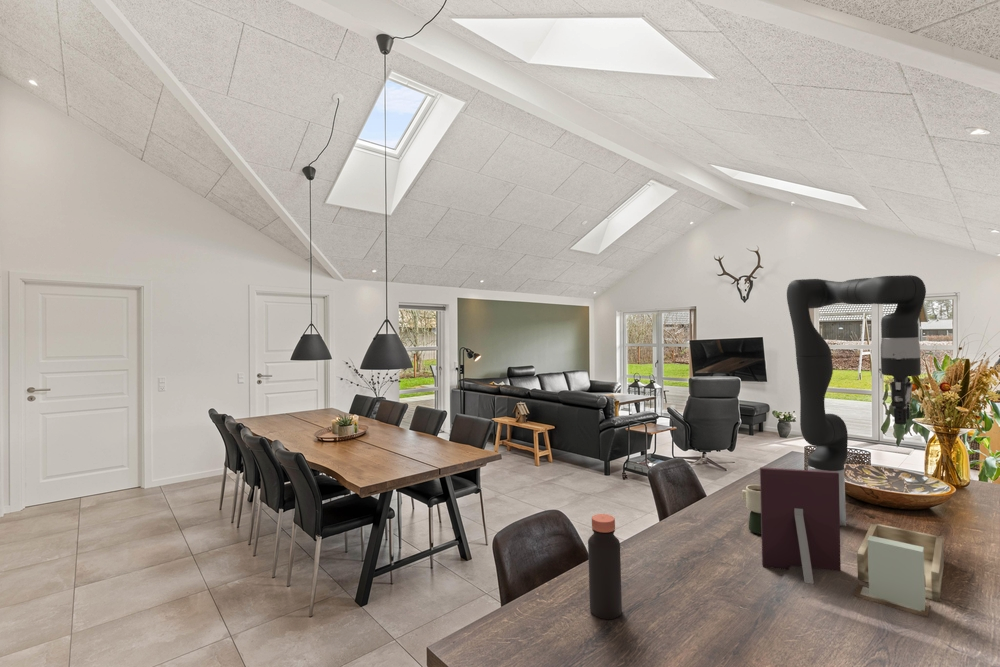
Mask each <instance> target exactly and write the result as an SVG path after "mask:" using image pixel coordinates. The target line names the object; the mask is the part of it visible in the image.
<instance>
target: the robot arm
mask: <svg viewBox="0 0 1000 667" xmlns="http://www.w3.org/2000/svg"><path fill="white" fill-rule="evenodd" d="M926 289H927V288H926V285H925V283H924V281H923V280H922V278H920V277H919V276H916V275H911V274H909V275H908V274H907V275H906V274H905V275H904V274H903V275H883V276H876V277H865V278H864V277H863V278H855V279H854V278H853V279H848V280H845V281H834V280H827V279H819V278H807V279H804V278H803V279H795V280H792V281H790V282H789V284H788V286H787V289H786V302H787V306H788V311H789V316H790V320H791V325H792V330H793V331H792V332H793V338H794V339H793V340H794V347H795V360H796V367H797V368H796V369H797V376H798V386H799V397H800V398H799V401H800V408H799V409H800V410H799V414H800V416H799V419H800V422H799V425H800V432H801V435H802V438H803V439H804V440H805V441H806V442H807V443H808V444H809V445H810V446H814V447H815V449H814V451H813V452H811V453H810V454H809V455H808V457H807V470H813V471H830V472H838V473H839V507H840V526H844V527H847V517H846V514H847V512H846V511H847V510H846V483H845V481H846V480H845V463H846V461H847V458H848V441H849V440H848V439H849V438H848V436H849V435H848V429H847V425H846V423H845V421H844V420H843V418H841V417H840V416H839V415H837V414H834V413H826V409H825V408H826V407H825V397H826V393H827V391H828V387H829V386H830V383H831V380H832V377H833V373H834V372H833V371H834V364H833V358H832V357H833V356H832V351H831V348H830V346H829V344H828V343H827V341H826V339H824V337H823V336H822V335H821V334H820V333H819V331H818V330H817V329H816V327H815V326H814V324H813V321H812V319H811V313H810V309H819V308H823V307H827V306H831V305H836V304H842V303H843V304H847V305H896V307H895V310H894V312H893V313H890V314H889V313H888V314H886V315H884V316H882V317H881V322H880V331H881V342H880V370H881V372H880V374H881V375H883V376H891V377H893V381H891V382H890V383H889V389H890V400H891V407H892V408H893V418H894V424H896V425H902V426H903V425H907V423H908V422H907V421H908V420H909V419H910V418H911V414H910V411H911V410H910V404H911V402H912V401H911V400H912V398H913V397H912V394H913V393H912V392H913V391H912V390H913V382H911V378H910V377H919V376H921V375H922V371H921V370H922V366H921V362H922V361H921V345H920V341H919V327H918V326H919V319H920V315H921V312H922V308H923V306H924V302H925V300H926V294H927V290H926Z"/></svg>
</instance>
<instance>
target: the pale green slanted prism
mask: <svg viewBox="0 0 1000 667" xmlns="http://www.w3.org/2000/svg"><path fill="white" fill-rule="evenodd" d="M867 543H868V574H869V582H868V586H869V595H870V596H874V597H877V598H881V599H884V600H888V601H891V602H895V603H898V604H902V605H905V606H909V607H912V608H916V609H919V610H923V611H925V605H926V604H925V602H926V598H925V573H924V547H921V546H916V545H912V544H907V543H902V542H898V541H893V540H889V539H884V538H879V537H875V536H870V535H869V537H868V540H867Z"/></svg>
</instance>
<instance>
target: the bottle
mask: <svg viewBox="0 0 1000 667" xmlns="http://www.w3.org/2000/svg"><path fill="white" fill-rule="evenodd" d="M591 529H592V530H591V531H592V532H593V533H592V534H591V535H590V536H589V538H588V540H587V552H588V556H587V558H588V559H587V560H588V591H589V592H588V593H589V611H590V612H591V614H593V615H594V616H596V617H597V618H599V619H604V620H613V619H617V618H618V617H620V616H621V615H622V612H623V604H622V602H623V601H622V598H623V596H622V568H621V567H622V565H621V562H622V561H621V543H620V540H619V539H618V537H617V536H616V535H615V534H614V533H615V532H616V519H615V516H613V515H611V514H605V513H598V514H594V515H592V516H591Z"/></svg>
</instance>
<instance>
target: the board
mask: <svg viewBox="0 0 1000 667" xmlns="http://www.w3.org/2000/svg"><path fill="white" fill-rule="evenodd" d="M853 597H856V598H859V599H863V600H866V601H870V602H873V603H878V604H881V605H884V606H887V607H891V608H894V609H897V610H901V611H904V612H908V613H910V614H915V615H917V616H920V617H921V616H922V617H924V618H929V617H928V616H929V610H930V602H927V601H925V604H926V605H925V611H923V610H919V609H916V608H912V607H909V606H905V605H902V604H898V603H895V602H891V601H888V600H884V599H881V598H877V597H874V596H870V595H869V585H865V584H860V583H857V586H856V588H855V591H854V593H853Z"/></svg>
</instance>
